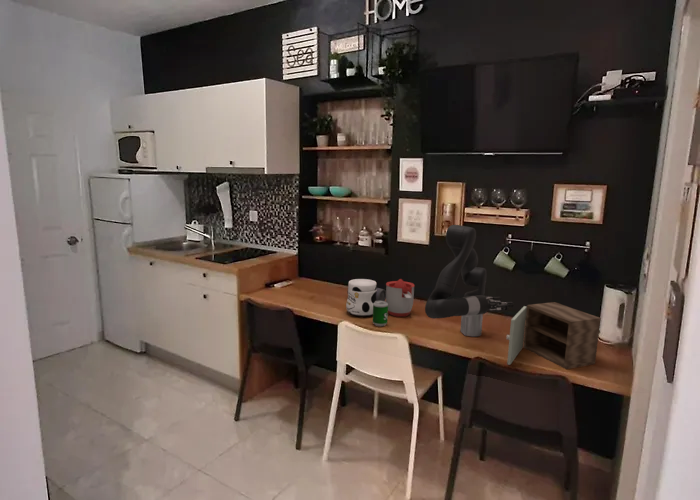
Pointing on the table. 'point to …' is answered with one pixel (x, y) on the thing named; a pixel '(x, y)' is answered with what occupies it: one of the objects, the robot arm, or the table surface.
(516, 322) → the sage door
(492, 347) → the table surface
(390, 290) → the citrus juicer
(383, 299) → the bluetooth speaker
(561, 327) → the walnut cabinet
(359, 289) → the milk container
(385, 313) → the soda can
